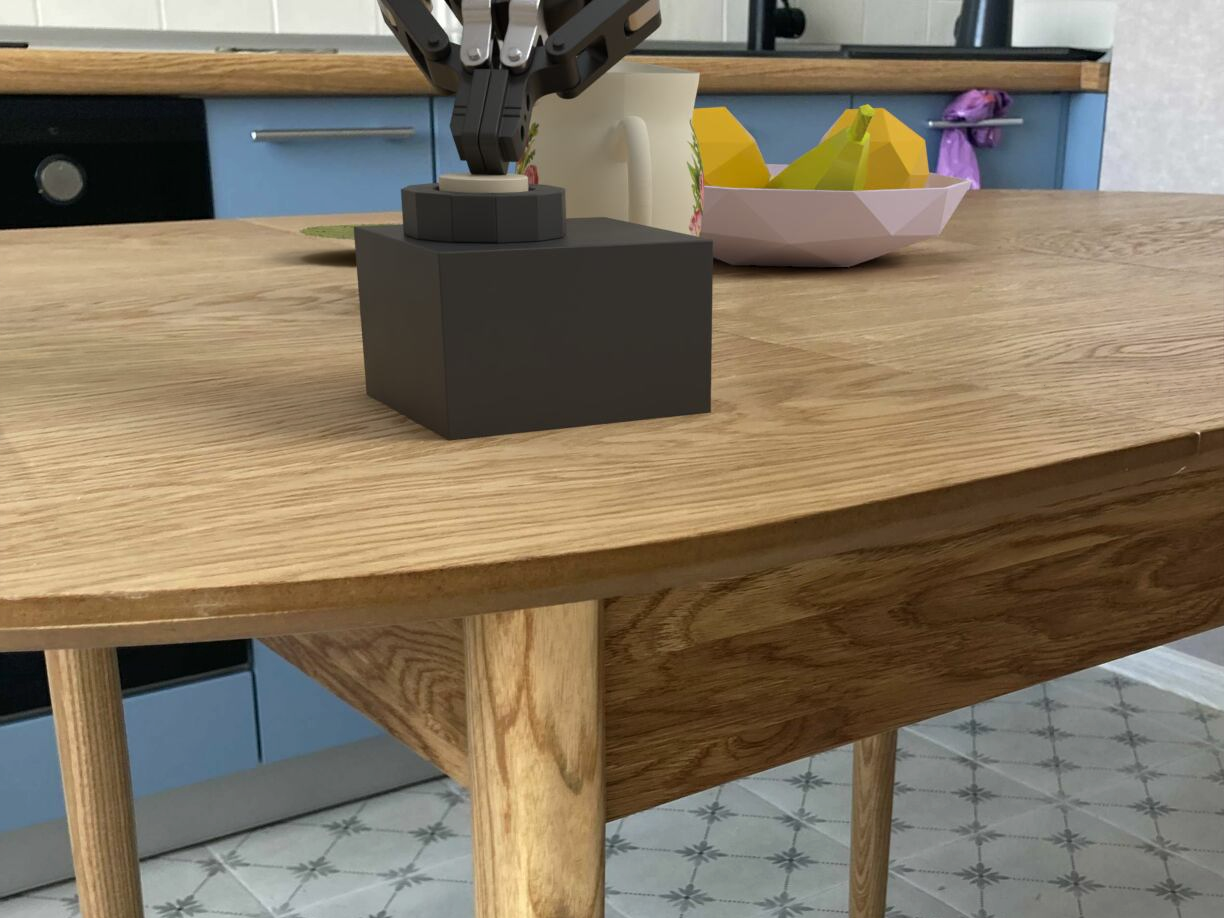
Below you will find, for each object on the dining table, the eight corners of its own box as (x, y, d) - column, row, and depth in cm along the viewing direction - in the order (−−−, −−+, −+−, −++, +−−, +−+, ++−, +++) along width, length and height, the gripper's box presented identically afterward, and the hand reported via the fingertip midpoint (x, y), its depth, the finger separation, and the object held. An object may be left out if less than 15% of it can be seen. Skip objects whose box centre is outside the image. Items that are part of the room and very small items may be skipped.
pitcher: (542, 339, 83) (533, 59, 77) (505, 291, 99) (496, 56, 93) (740, 335, 85) (746, 63, 79) (673, 289, 101) (674, 59, 95)
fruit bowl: (629, 234, 130) (628, 88, 126) (951, 242, 130) (962, 96, 125) (589, 278, 105) (586, 98, 100) (989, 289, 104) (1005, 107, 99)
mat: (288, 251, 116) (286, 223, 115) (435, 246, 120) (434, 220, 119) (319, 269, 107) (316, 240, 106) (477, 264, 111) (475, 235, 110)
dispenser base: (449, 442, 61) (435, 201, 57) (366, 395, 69) (349, 181, 65) (711, 413, 67) (714, 193, 63) (607, 373, 74) (604, 175, 71)
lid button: (460, 226, 61) (458, 180, 61) (428, 218, 64) (425, 173, 63) (543, 223, 63) (542, 178, 62) (508, 215, 66) (506, 171, 65)
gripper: (376, -230, 66) (295, 86, 60) (682, -229, 65) (632, 95, 58) (422, -79, 73) (353, 218, 67) (699, -75, 71) (655, 228, 65)
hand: (483, 160), depth 63 cm, fingers closed
